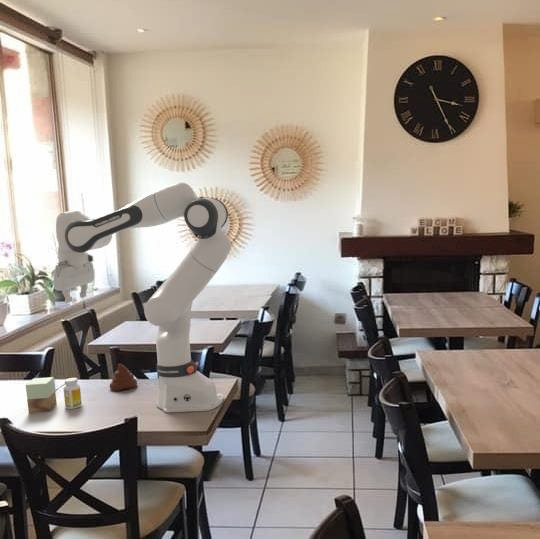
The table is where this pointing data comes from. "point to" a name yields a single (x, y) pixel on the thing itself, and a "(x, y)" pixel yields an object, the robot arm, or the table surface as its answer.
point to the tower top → (40, 388)
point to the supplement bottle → (72, 394)
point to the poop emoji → (122, 379)
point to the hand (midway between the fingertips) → (76, 299)
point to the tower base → (42, 404)
